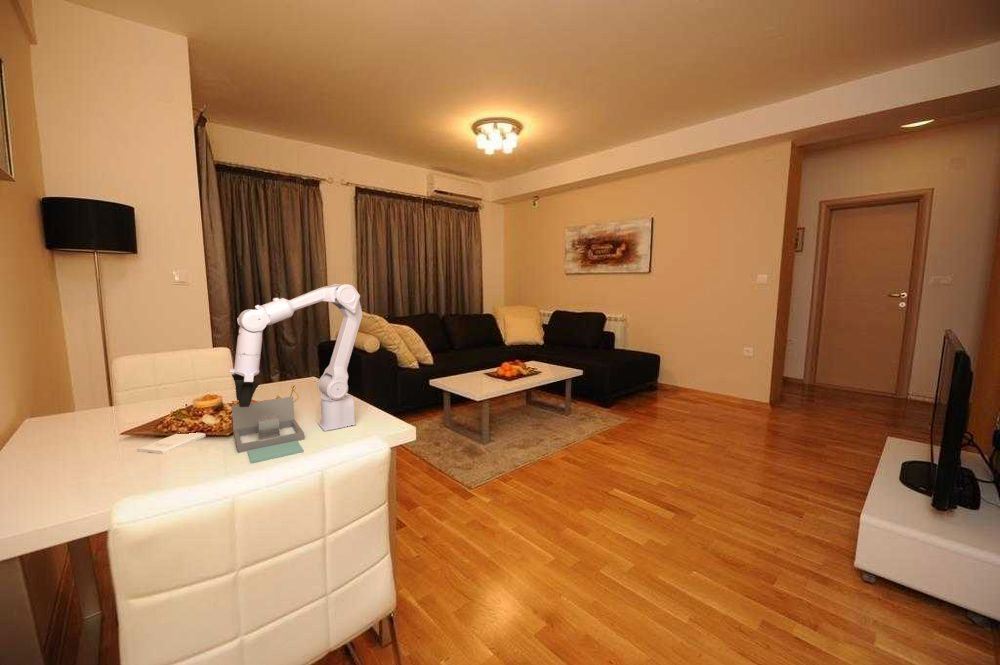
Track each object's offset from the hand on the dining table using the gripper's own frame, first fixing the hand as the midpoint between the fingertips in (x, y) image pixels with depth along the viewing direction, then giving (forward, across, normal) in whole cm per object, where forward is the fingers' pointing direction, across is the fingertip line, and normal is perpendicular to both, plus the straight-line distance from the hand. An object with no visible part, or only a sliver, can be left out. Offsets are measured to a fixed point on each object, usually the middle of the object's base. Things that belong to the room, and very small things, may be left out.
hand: (242, 403), depth 112 cm
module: (+11, -2, +8) cm, 13 cm away
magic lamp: (+10, -21, +11) cm, 26 cm away
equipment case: (+11, -2, +8) cm, 13 cm away
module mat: (+11, +10, +8) cm, 17 cm away
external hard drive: (+15, -12, -14) cm, 24 cm away
